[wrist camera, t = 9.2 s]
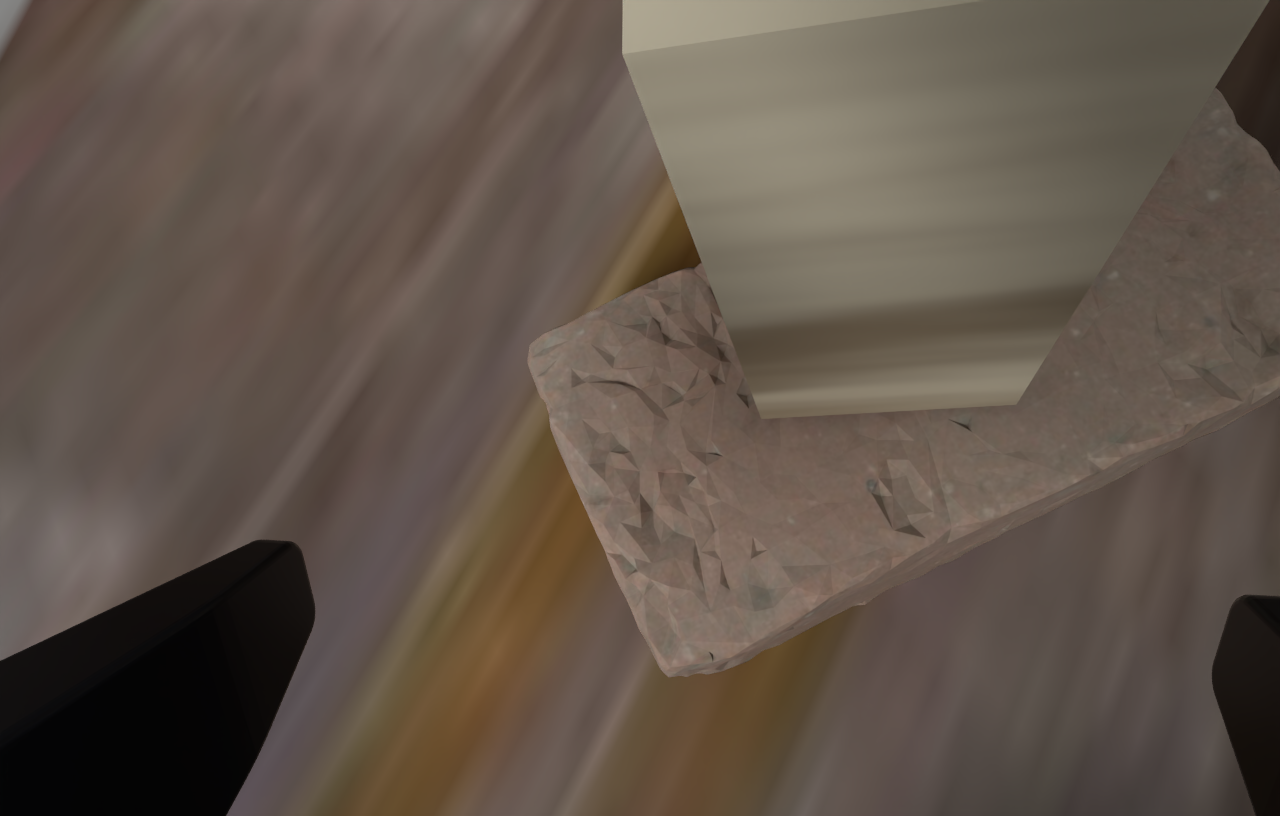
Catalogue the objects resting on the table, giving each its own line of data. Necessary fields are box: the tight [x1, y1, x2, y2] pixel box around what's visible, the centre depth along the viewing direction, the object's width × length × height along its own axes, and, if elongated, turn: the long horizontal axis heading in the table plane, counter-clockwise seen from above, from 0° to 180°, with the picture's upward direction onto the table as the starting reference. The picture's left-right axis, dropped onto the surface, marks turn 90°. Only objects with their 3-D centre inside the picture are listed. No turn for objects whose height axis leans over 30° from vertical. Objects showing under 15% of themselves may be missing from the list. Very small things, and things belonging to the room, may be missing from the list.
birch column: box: [622, 0, 1270, 419], centre depth 13 cm, size 5×5×13 cm
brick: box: [528, 88, 1280, 677], centre depth 21 cm, size 16×8×5 cm, turn 115°
